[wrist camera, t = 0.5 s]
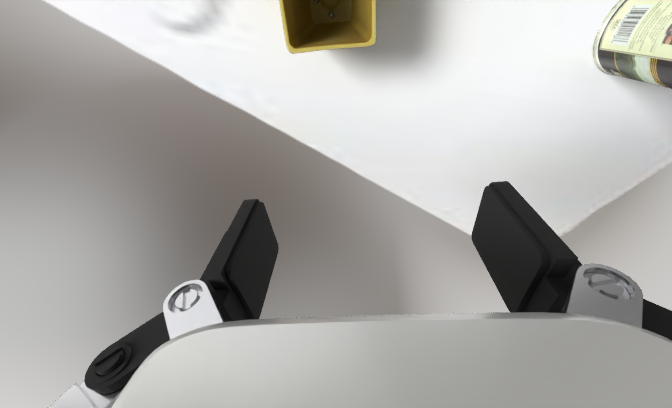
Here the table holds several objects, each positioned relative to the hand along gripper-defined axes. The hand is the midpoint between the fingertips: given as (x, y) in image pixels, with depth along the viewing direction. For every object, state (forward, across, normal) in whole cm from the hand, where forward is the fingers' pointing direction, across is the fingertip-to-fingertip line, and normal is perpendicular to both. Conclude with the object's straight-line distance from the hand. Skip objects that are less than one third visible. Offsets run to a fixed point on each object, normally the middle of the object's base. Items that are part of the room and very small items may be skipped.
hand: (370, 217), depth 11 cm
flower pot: (+30, +2, -8) cm, 31 cm away
